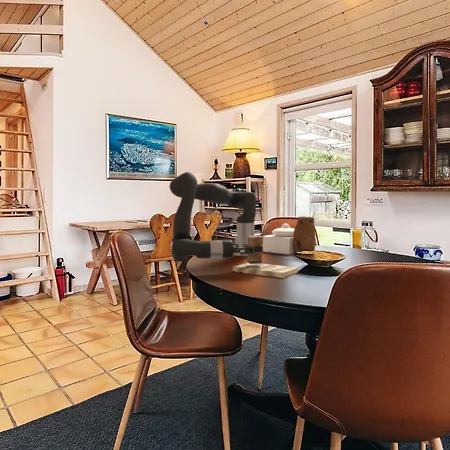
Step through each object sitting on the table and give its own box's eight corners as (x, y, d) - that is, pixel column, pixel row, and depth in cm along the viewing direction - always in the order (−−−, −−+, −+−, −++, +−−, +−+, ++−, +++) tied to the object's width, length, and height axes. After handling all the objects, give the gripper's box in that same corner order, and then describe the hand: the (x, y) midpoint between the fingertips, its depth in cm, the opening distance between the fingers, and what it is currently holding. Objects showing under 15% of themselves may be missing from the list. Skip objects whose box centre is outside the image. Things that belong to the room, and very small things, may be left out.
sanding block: (250, 263, 158) (250, 237, 157) (247, 261, 162) (247, 235, 162) (261, 263, 158) (262, 236, 158) (258, 261, 163) (258, 235, 163)
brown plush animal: (312, 253, 208) (313, 216, 207) (315, 255, 201) (316, 217, 199) (292, 253, 208) (292, 216, 207) (294, 255, 201) (295, 217, 199)
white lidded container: (289, 254, 204) (289, 225, 203) (262, 251, 216) (262, 223, 215) (306, 251, 217) (306, 223, 216) (280, 248, 229) (280, 221, 228)
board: (232, 271, 159) (232, 266, 159) (249, 266, 170) (249, 262, 170) (283, 278, 146) (283, 272, 146) (297, 272, 157) (297, 267, 156)
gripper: (223, 242, 150) (265, 241, 153) (217, 238, 164) (256, 237, 167) (223, 261, 151) (265, 259, 154) (217, 255, 165) (256, 254, 168)
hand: (260, 248), depth 160 cm, fingers closed on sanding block, 5 cm apart
